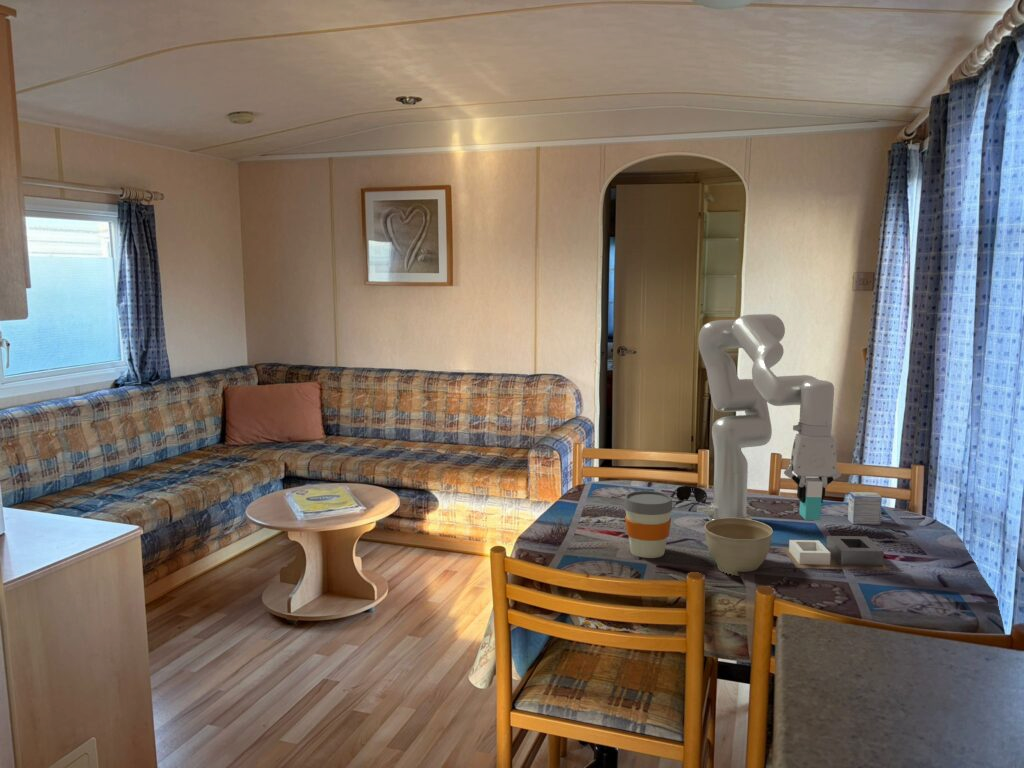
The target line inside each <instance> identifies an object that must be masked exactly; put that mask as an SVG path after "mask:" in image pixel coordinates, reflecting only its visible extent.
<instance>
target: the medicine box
mask: <svg viewBox="0 0 1024 768" xmlns="http://www.w3.org/2000/svg"><path fill="white" fill-rule="evenodd" d="M848 494H849V495H848V511H847V519H848V520H847V521H849V522H850V523H851V524H852V525H881V518H882V504H883V502H882V501H883V497H882V496H881V495H880V494H878V493H877V492H873V491H872V492H869V491H868V492H866V491H857V492H856V491H853V492H851V491H850V492H848Z"/></svg>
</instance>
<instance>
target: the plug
mask: <svg viewBox="0 0 1024 768" xmlns="http://www.w3.org/2000/svg"><path fill="white" fill-rule="evenodd" d="M822 485H823V482H822V481H821V480H820V479H819V477H807V476H806V479H805V488H806V495H805V502H804V503H802V502H801V501H800V500H799V513H798V514H799V515H800V516H801V517H802V518H803V519H804V520H805V521H821V515H822V503H821V500H822Z"/></svg>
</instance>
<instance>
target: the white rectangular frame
mask: <svg viewBox="0 0 1024 768" xmlns="http://www.w3.org/2000/svg"><path fill="white" fill-rule="evenodd" d="M788 543H789V544H788V547H789V552H790V553H791V554H792V555H793V557H794V558H795V559H796V560H797V562H798V563H799V564H825V565H830V555H831V553H830V552H829V551H828V550H827V549H826V548H827V547H826V546H825V545H824V544H823V543H822V542H821V541H820V540H818V539H817V540H816V539H815V540H812V539H811V540H809V539H789V542H788Z"/></svg>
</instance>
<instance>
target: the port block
mask: <svg viewBox="0 0 1024 768" xmlns="http://www.w3.org/2000/svg"><path fill="white" fill-rule="evenodd" d="M825 548H826V549H827V550H828V551H829V552H830V553H831V556H832V557H833V558H834V559H835V560H836V562H837V563H838V564H839V565H840V566H864V567H883V564H884V556H885V555H884V550H883V549H882V548H881V547H880V546H878V544H876V543H875V542H874V541H873V540H872V539H871V538H869V536H857V535H853V536H852V535H827V536H826V547H825Z"/></svg>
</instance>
